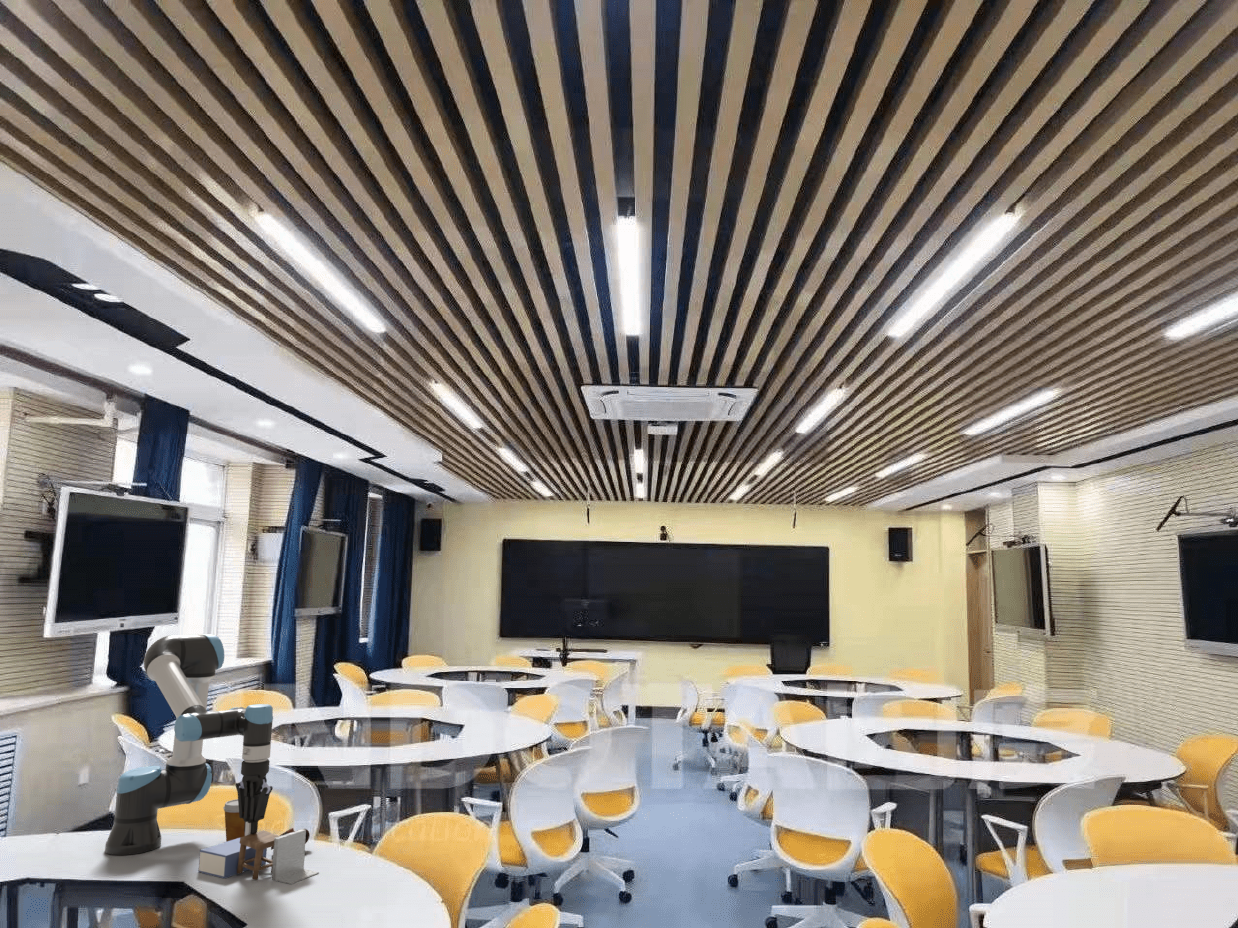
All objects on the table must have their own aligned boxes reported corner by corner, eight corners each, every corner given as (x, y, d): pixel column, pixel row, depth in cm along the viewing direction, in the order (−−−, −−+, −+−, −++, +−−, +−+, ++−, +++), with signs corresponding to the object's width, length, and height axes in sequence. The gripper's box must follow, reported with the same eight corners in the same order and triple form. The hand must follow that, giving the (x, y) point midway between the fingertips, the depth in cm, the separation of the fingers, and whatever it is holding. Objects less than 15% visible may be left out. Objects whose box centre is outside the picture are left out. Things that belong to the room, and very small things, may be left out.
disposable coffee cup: (258, 837, 272) (261, 798, 274) (243, 846, 263) (245, 806, 265) (231, 836, 273) (233, 797, 275) (214, 845, 264) (217, 805, 266)
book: (198, 871, 239) (199, 849, 240) (240, 858, 252) (241, 836, 252) (224, 878, 234) (225, 855, 235) (265, 863, 247) (267, 842, 248)
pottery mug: (290, 862, 250) (278, 836, 251) (273, 871, 254) (260, 846, 255) (321, 841, 261) (309, 817, 262) (304, 850, 265) (292, 826, 266)
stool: (240, 837, 238) (259, 844, 234) (263, 830, 245) (282, 837, 241) (235, 872, 237) (254, 880, 233) (258, 864, 244) (278, 871, 240)
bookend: (271, 879, 234) (274, 837, 235) (299, 869, 242) (302, 829, 244) (290, 884, 230) (293, 841, 232) (318, 873, 239) (321, 832, 241)
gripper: (229, 759, 244) (223, 844, 241) (260, 764, 238) (254, 851, 235) (251, 755, 251) (245, 838, 247) (282, 759, 245) (276, 844, 242)
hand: (249, 844), depth 241 cm, fingers closed
